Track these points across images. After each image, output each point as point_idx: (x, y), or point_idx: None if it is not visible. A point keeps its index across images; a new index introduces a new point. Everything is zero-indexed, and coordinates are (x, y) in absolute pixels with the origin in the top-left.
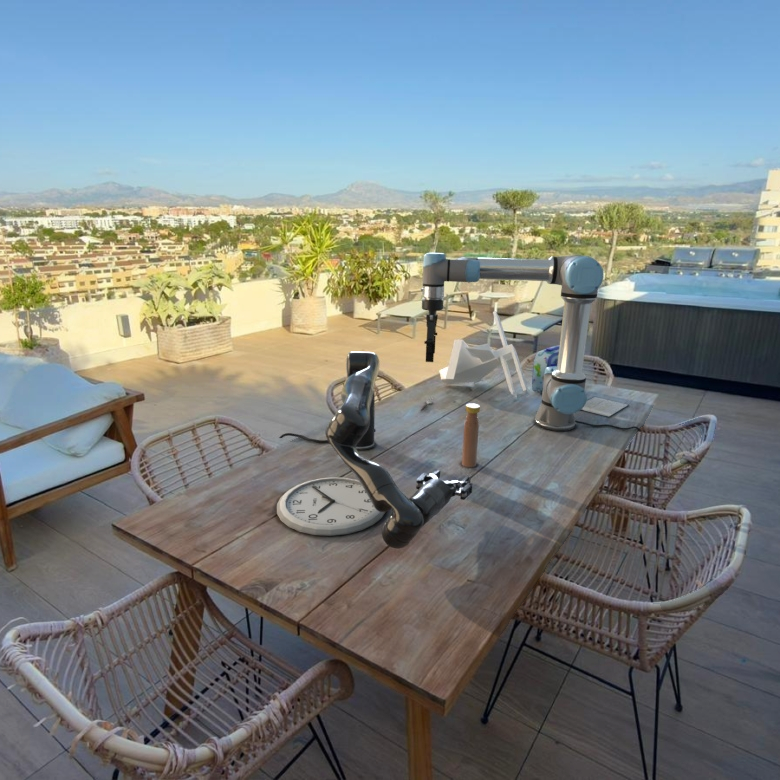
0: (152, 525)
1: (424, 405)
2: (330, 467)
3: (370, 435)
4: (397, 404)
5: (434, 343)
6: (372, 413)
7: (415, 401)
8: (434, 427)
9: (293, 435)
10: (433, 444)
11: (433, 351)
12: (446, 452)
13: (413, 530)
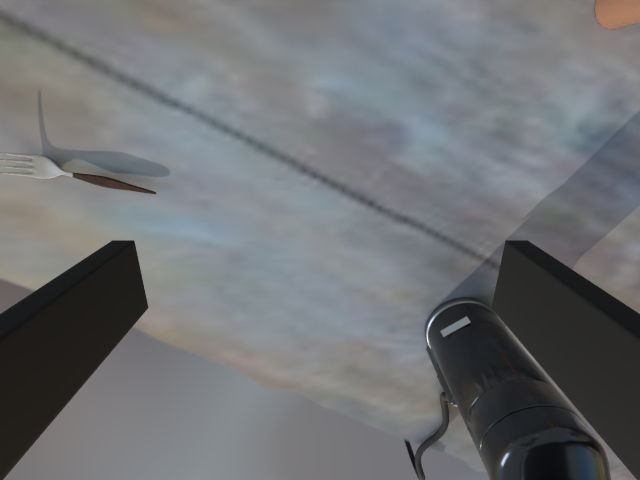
0: None
1: (98, 184)
2: None
3: (503, 326)
4: None
5: (59, 305)
6: (534, 369)
7: (48, 218)
8: (298, 135)
9: (420, 463)
10: (450, 133)
11: (615, 301)
12: (516, 86)
13: None
